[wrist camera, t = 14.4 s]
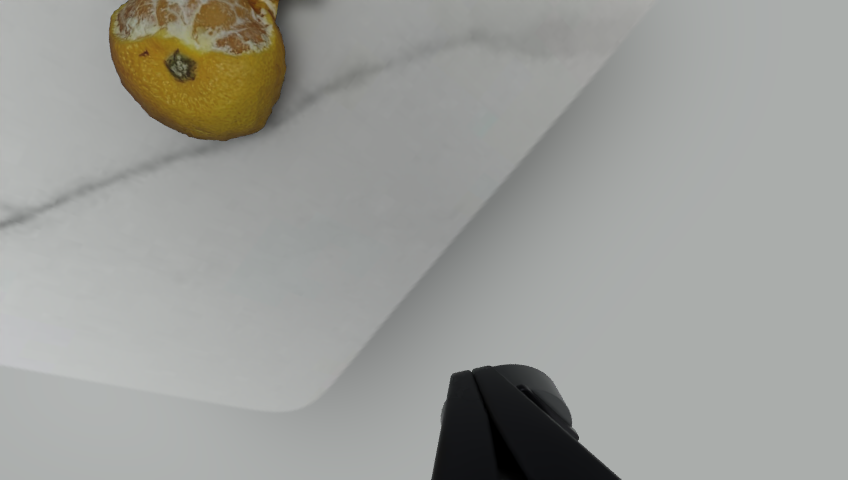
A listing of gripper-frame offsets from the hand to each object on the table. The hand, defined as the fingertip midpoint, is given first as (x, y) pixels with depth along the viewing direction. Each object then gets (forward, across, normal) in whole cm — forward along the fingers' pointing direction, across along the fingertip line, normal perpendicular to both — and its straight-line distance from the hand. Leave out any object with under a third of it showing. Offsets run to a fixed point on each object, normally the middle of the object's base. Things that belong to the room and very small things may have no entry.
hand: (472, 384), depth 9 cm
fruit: (+13, +6, -9) cm, 17 cm away
